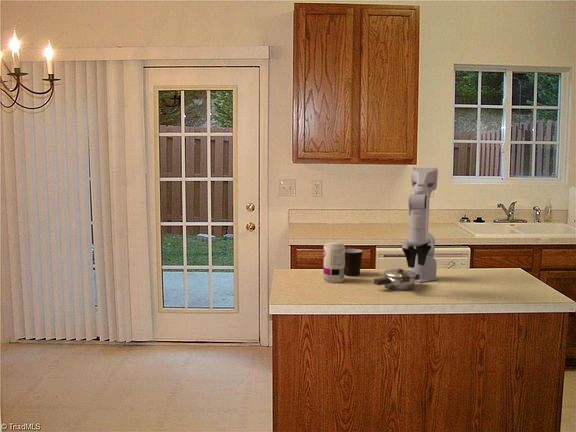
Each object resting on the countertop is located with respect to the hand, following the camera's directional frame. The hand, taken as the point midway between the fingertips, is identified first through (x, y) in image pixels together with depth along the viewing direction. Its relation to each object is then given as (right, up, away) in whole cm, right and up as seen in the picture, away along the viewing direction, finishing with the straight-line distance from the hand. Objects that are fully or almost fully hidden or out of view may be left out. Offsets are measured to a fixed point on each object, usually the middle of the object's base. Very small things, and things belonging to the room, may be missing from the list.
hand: (416, 266), depth 188 cm
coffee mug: (-19, -6, +31) cm, 37 cm away
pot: (-5, -9, +9) cm, 14 cm away
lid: (-4, -4, +7) cm, 9 cm away
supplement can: (-27, -8, +20) cm, 35 cm away
